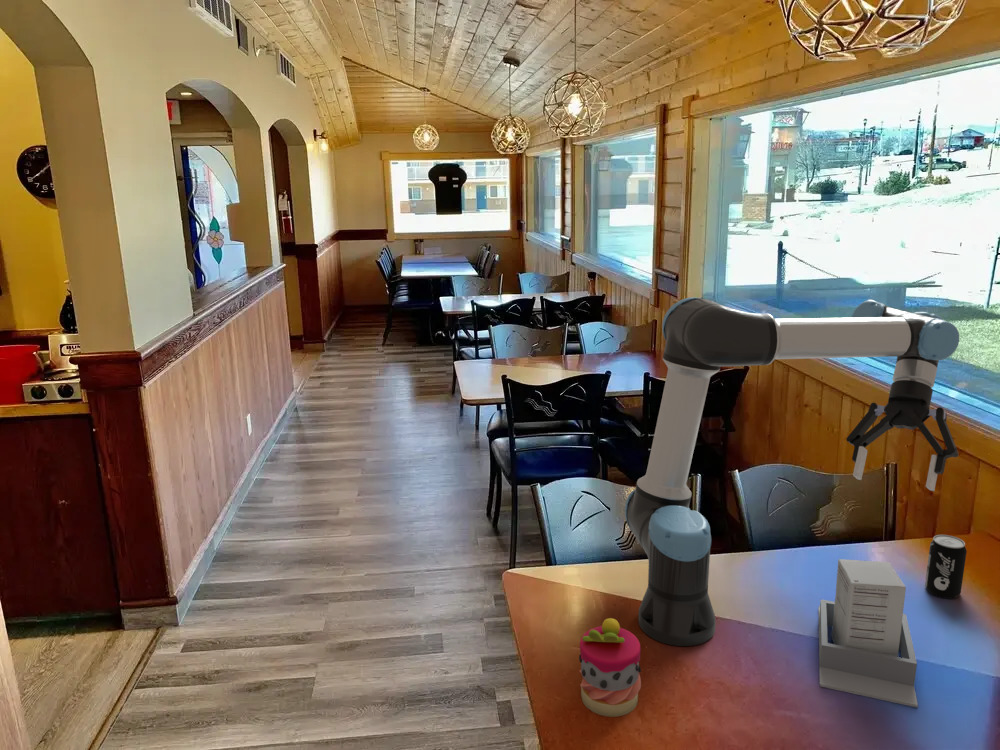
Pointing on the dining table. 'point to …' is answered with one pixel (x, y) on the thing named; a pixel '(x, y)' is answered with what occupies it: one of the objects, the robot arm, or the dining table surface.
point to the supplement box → (868, 606)
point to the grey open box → (867, 665)
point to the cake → (610, 669)
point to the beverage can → (945, 566)
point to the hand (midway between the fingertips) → (892, 483)
